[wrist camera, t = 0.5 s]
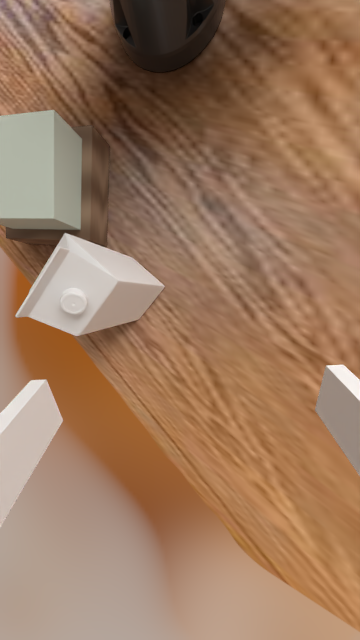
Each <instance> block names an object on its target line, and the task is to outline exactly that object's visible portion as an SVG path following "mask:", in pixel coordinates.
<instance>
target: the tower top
mask: <svg viewBox="0 0 360 640" xmlns="http://www.w3.org/2000/svg"><path fill="white" fill-rule="evenodd" d="M81 173H82V138H81V137H80V136H79V135H78V134H77V133H76V132H75V131H74V130H73V129H72V128H71V127H70V126H69V125H68V124H67V123H66V122H65V121H64V120H63V119H62V118H61V117H60V115H59V114H58V113H57V112H56V111H55V110H48V111H40V112H31V113H22V114H13V115H5V116H0V225H2V226H6V227H9V228H12V229H59V230H81Z"/></svg>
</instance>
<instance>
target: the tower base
mask: <svg viewBox="0 0 360 640" xmlns="http://www.w3.org/2000/svg"><path fill="white" fill-rule="evenodd" d="M71 128H72V129H73V130H74V131H75V132H76V133H77V134H78V135H79V136H80V137H81V138H82V173H81V230H59V229H12V228H9V227H6V238H8V239H12V240H16V241H20V242H24V243H28V244H39V245H58V243H59V242H60V240H61V238H62V237H63V235H64V234H65V233H67V234H70V235H73V236H75V237H78V238H81V239H83V240H86V241H89V242H92V243H94V244H97V245H100V246H102V247H107V225H108V191H109V156H110V146H109V145H108V144H107V142H106V141H105V140H104V139H103V138H102V136H101V135H100V134H99V133H98V132H97V130H96V129H95V128H94V127H93V125H90V126H80V127H71Z"/></svg>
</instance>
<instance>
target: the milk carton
mask: <svg viewBox="0 0 360 640" xmlns="http://www.w3.org/2000/svg"><path fill="white" fill-rule="evenodd" d="M164 287H165V286H164V285H163V284H162V283H161V282H160V281H158V280H157V279H156V278H155V277H154V276H153V275H152V274H151V273H149V272H148V271H147V270H146V269H145V268H144V267H143V266H141V265H140V264H139V263H138V262H137V261H136V260H135V259H133V258H132V257H129V256H127V255H124V254H121V253H119V252H116V251H113V250H110V249H108V248H105V247H102V246H100V245H97V244H94V243H92V242H89V241H86V240H83V239H81V238H78V237H75V236H73V235H70V234H67V233H65V234H64V235H63V237H62V238H61V240H60V242H59V243H58V245H57V246H56V248H55V250H54V251H53V253H52V255H51V256H50V258H49V259H48V261H47V263H46V264H45V266H44V268H43V269H42V271H41V272H40V274H39V276H38V277H37V279H36V281H35V282H34V284H33V285H32V287H31V289H30V291H29V294H28V296H27V298H26V299H25V301H24V302H23V304H22V306H21V307H20V309H19V310H18V312H17V314H16V317H27V316H28V317H30V318H33V319H35V320H38V321H40V322H43V323H45V324H48V325H50V326H53V327H55V328H58V329H60V330H63V331H65V332H68V333H70V334H72V335H75V336H80V335H84V334H88V333H91V332H95V331H99V330H102V329H106V328H110V327H113V326H117V325H121V324H124V323H128V322H132V321H135V320H139V319H140V318H141V316H142V315H143V314H144V313H145V311H146V310H147V309H148V308H149V306H150V305H151V304H152V302H153V301H154V300H155V299H156V297H157V296H158V295H159V294H160V292H161V291H162V290H163V289H164Z"/></svg>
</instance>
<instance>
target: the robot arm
mask: <svg viewBox="0 0 360 640" xmlns="http://www.w3.org/2000/svg"><path fill="white" fill-rule="evenodd" d="M109 1H110V7H111V12H112V18H113V22H114V25H115V28H116V31H117V33H118V36H119V38H120V40H121V43H122V45H123V47H124V49H125V51H126V53H127V55H128V56H129V57H130V59H131V60H132V61H133V62H134V63H136V64H137V65H138V66H140V67H141V68H143V69H146V70H149V71H153V72H166V71H171V70H174V69H177V68H179V67H182V66H183V65H185V64H187V63H188V62H190V61H191V60H193V59H194V58H195V57H196V56H197V55H198V54H199V53H200V52H201V51H202V50H203V49H204V48H205V47H206V46H207V44H208V43H209V41H210V40H211V38H212V37H213V35H214V33H215V32H216V30H217V28H218V25H219V23H220V20H221V18H222V14H223V11H224V6H225V0H109ZM315 411H316V412H317V414H318V415H319V417H320V418H321V420H322V421H323V423H324V424H325V426H326V427H327V428H328V430H329V431H330V433H331V434H332V436H333V437H334V439H335V440H336V442H337V443H338V445H339V446H340V448H341V449H342V451H343V452H344V453H345V455H346V456H347V458H348V459H349V461H350V462H351V464H352V465H353V467H354V468H355V470H356V471H357V473H358V474H359V476H360V380H359V379H358V378H357V377H356V376H355V375H354V374H353V373H352V372H350V371H349V370H348V369H347V368H346V367H345V366H344V365H328V366H326V368H325V372H324V376H323V380H322V384H321V388H320V392H319V396H318V400H317V404H316V408H315ZM62 422H63V419H62V417H61V414H60V412H59V409H58V407H57V404H56V402H55V399H54V397H53V395H52V392H51V390H50V387H49V385H48V382H47V380H31V381H30V382H29V383H28V384H27V385H26V386H25V387H24V388H23V389H22V391H21V392H20V393H19V394H18V395H17V396H16V397H15V398H14V399H13V400H12V401H11V402H10V403H9V405H8V406H7V407H6V408H5V409H4V410H3V411H2V412H1V413H0V527H1V525H2V524H3V522H4V520H5V518H6V517H7V515H8V513H9V512H10V510H11V508H12V507H13V505H14V503H15V502H16V500H17V498H18V496H19V495H20V493H21V491H22V490H23V488H24V486H25V484H26V483H27V481H28V479H29V477H30V476H31V474H32V473H33V471H34V469H35V468H36V466H37V464H38V462H39V461H40V459H41V457H42V456H43V454H44V452H45V450H46V448H47V447H48V445H49V444H50V442H51V440H52V439H53V437H54V435H55V434H56V432H57V430H58V428H59V427H60V425H61V423H62Z"/></svg>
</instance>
